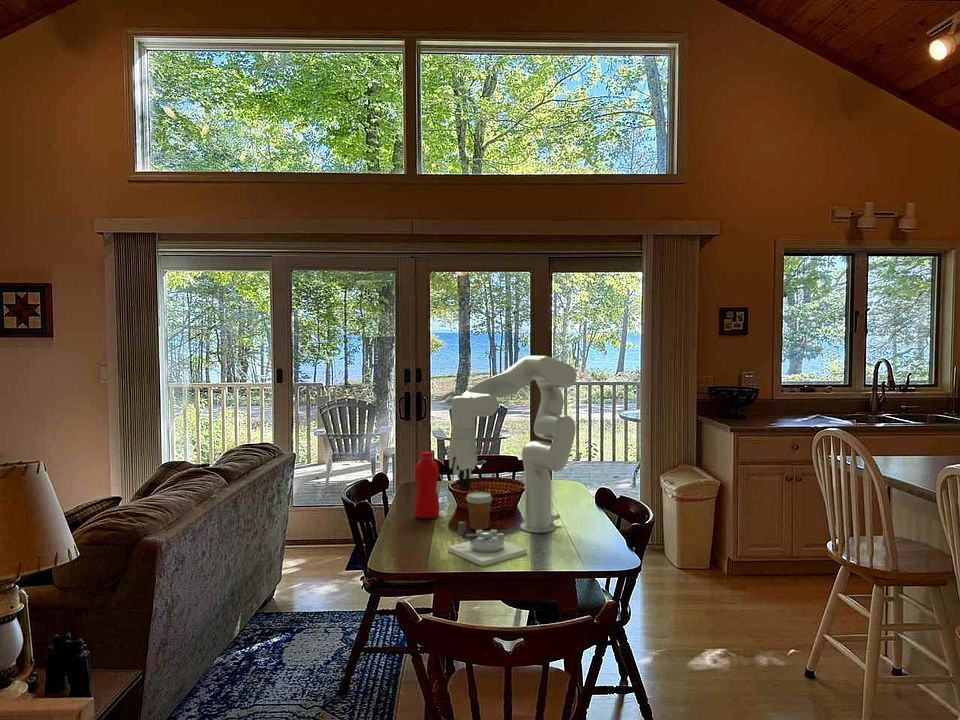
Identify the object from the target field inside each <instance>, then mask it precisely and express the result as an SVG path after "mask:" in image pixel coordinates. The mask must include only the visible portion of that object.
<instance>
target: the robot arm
mask: <svg viewBox="0 0 960 720" xmlns="http://www.w3.org/2000/svg"><path fill="white" fill-rule="evenodd" d="M577 377H578V376H577V372H576V370H575V368H574V367H573V366H572V365H571V364H569V363H566V362H563V361H560V360H559V359H556V358H554V357H551V356H548V355H526V356H523V357H521V358H520V359H519V360H517V361H515V363H513V364H512V365H510V366H509V367H508V368H506V369H505V370H504V371H502V372H501V373H499V374H496V375H493V376H492V377H489V378H487V379H484V380H481V381H479V382H477V383H476V384H474V385H473V386H471V387H470V388H468V389H467V390H465V391H464V392H463V393H462V394H460V395H455V396H453V397H452V398H451V402H450V403H451V439H450V445H449V451H448V452H449V454H448V466H449V467H448V468H449V469H450V470H452V471H453V472H452V473H453V475H456V476H457V478H458V485H459V486H458V489H459V490H460V491H463V492H464V491H465V492H468V491H470V489H471V476H472V471H474V470H475V468H476V466H477V464H478V447H477V441H476V417H484V418H485V417H486V418H487V417H490V416H491V417H492V416H493V415H494V414H495V413H496V412H497V411H498V408H499V402H498V400H497V399H498V398H504V397H509V396H512V395H515V394H517V393H518V392H520V390H522V389H523V388H524V387H525V386H527V385H528V384H530V383H531V382H532V381H535V382H536V385H537V387H538V389H539V391H540V402H539V406H538V410H537V413H536V417H535V420H534V424H533V431H534V434H535V436H536V437H538V438H541V439H545V440H550V441H551V440H552V441H551V442H547V441H542V440H541V441H540V440H531V441H529V442H527V443H525V445H523V448H522V451H521V459H522V464H523V470H524V521H523V522H522V523H520V525H519V526H520V529H521V530H522V531H525V532H529V533H533V534H534V533H535V534H536V533H537V534H539V533H540V534H542V533H543V534H544V533H550V532H553V531H554V530H556V524H555V523H554V521H558V520H560V519H561V515H560V514H559V513H556V514H553V513H552V477H551V474H550V471H553V472H560V471H562V470H564V468H565V467H567V466H566V465H567V464H568V461H569V458H570V455H571V450H572V447H573V444H574V439H575V435H576V429H577V428H576V422H575V421H574V418H572V417H571V416H570V415H568V414H563V413H562V412H563V408H564V402H565V400H564V396H563V393H562V391H561V389H569V388H571V387H572V386H574V385H575V383H576V381H577Z"/></svg>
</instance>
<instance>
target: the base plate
mask: <svg viewBox="0 0 960 720" xmlns="http://www.w3.org/2000/svg"><path fill="white" fill-rule="evenodd" d="M447 552H449V553H451V554H453V555H456V556H459V557H460V558H462V559H464V560H465V559H466V560H467V561H468V562H469V561H470V562H471V563H474V564H477V565H479V566H481V567H484V566H489V565H492V564H495V563H499V562H502V561H506V560H509V559H513V558H516V557H521V556H524V555H527V554H528V553H527V552H528V550H527V548H525V547H523V546H519V545H516V544H514V543H511V542H508V541H506V540H504V549H503V550H501V551H498V552H493V553H481V552H476V551H473V550H471V549H470V540H467V541H463V542H460V543H456V544H452V545H448V546H447Z"/></svg>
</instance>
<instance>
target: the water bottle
mask: <svg viewBox="0 0 960 720" xmlns="http://www.w3.org/2000/svg"><path fill="white" fill-rule="evenodd" d="M420 456H421V457H420V460H419V461H418V462H417V464H416V466H415V467H414V477H415V482H416V486H417V488H416V489H417V492H416V493H417V494H416V498H415V503H414V517H416V518H417V519H431V520H432V519H436V518H438V517H439V514H440V502H439V497H438V491H437V483H438V479H439V474H440V470H439V464H438V462H437V461H436V460H434V459H433V452H431V451H423V452H421V453H420Z"/></svg>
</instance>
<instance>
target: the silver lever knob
mask: <svg viewBox="0 0 960 720" xmlns="http://www.w3.org/2000/svg"><path fill="white" fill-rule="evenodd" d="M466 524H467V523H466V521H462V520H461V521H458V524H457V527H458V528H457V535H458V536H460V537H461V539H462V540H469V541H470V549H471V550H473V551H476V552H481V553H493V552H498V551H501V550H503V549H504V541H505V533H502V532H500V533H498V529H491V530H475V533H467V531H466V530H467V528H466V527H467V526H466Z"/></svg>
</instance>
